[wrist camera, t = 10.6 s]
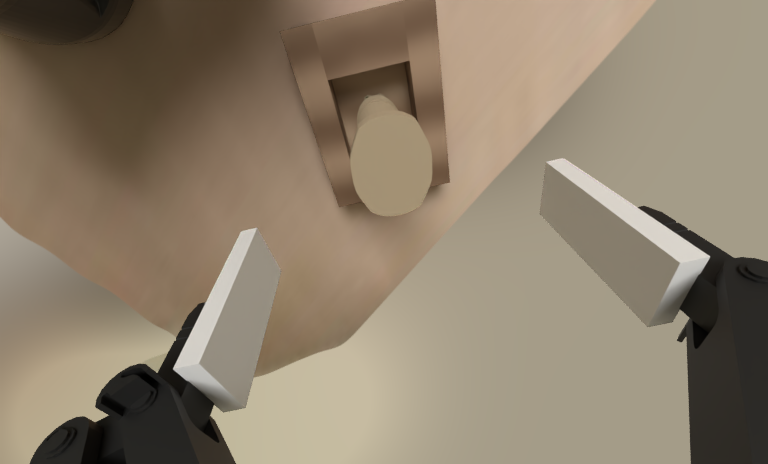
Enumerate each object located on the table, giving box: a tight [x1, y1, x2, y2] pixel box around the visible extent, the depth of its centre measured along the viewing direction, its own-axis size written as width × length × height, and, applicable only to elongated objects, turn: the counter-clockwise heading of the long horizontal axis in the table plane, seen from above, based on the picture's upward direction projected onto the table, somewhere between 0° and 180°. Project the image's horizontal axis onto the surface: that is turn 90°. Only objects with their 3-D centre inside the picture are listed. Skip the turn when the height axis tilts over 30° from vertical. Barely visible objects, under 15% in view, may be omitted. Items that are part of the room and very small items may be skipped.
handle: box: [350, 93, 432, 216], centre depth 24 cm, size 5×6×15 cm
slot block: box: [280, 0, 450, 207], centre depth 29 cm, size 16×12×4 cm
